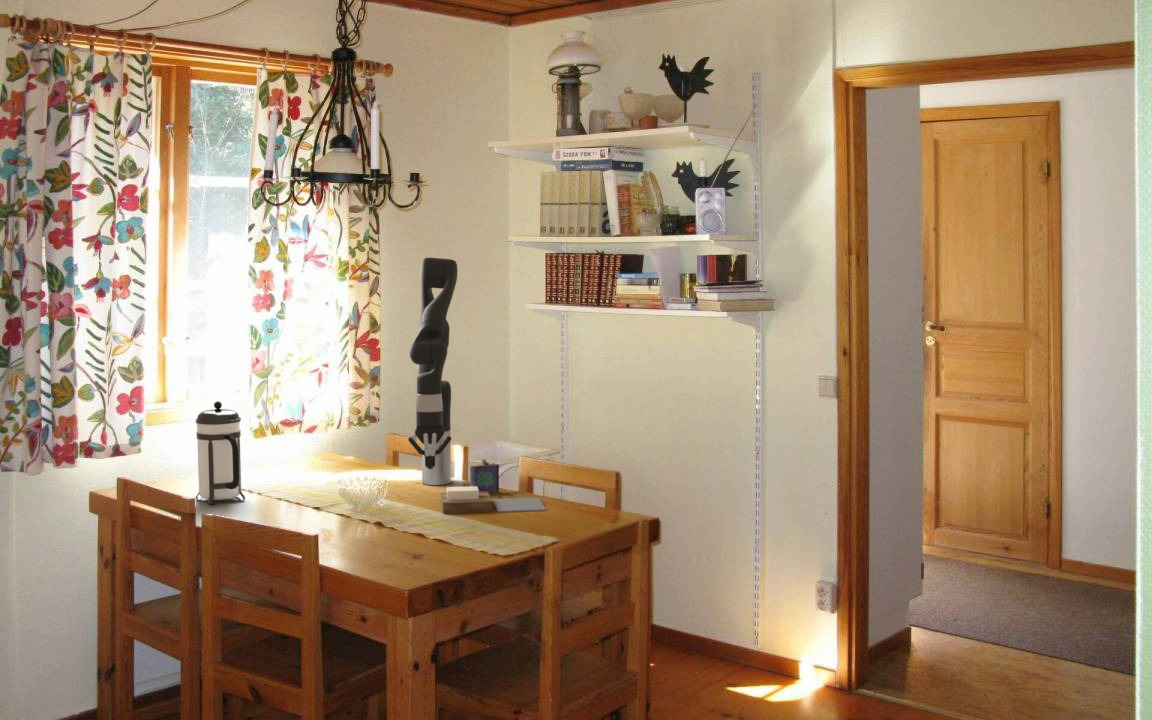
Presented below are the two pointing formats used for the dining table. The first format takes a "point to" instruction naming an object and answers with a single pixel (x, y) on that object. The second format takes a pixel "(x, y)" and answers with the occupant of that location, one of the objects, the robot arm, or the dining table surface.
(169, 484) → the dining table surface
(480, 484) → the flask
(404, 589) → the dining table surface
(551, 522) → the dining table surface
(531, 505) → the mat
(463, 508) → the board
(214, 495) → the coffee press
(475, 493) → the tile
